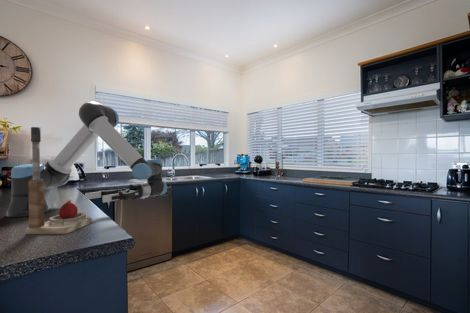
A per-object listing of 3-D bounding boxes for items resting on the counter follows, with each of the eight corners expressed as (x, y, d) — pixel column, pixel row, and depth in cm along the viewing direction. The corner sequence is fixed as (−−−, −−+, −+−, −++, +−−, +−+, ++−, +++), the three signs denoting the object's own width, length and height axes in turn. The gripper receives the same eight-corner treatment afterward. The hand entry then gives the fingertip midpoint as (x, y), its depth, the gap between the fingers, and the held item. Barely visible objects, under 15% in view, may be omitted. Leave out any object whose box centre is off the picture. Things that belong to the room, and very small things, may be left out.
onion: (67, 224, 88) (67, 202, 88) (54, 222, 89) (55, 201, 89) (81, 219, 93) (81, 199, 93) (69, 218, 95) (69, 198, 95)
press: (57, 222, 97) (56, 131, 97) (91, 222, 97) (90, 130, 97) (26, 233, 83) (25, 126, 83) (65, 233, 83) (64, 126, 83)
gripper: (155, 201, 111) (111, 210, 93) (123, 196, 124) (78, 203, 106) (155, 184, 111) (110, 190, 93) (123, 182, 124) (78, 186, 106)
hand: (93, 197), depth 99 cm, fingers open, 13 cm apart
